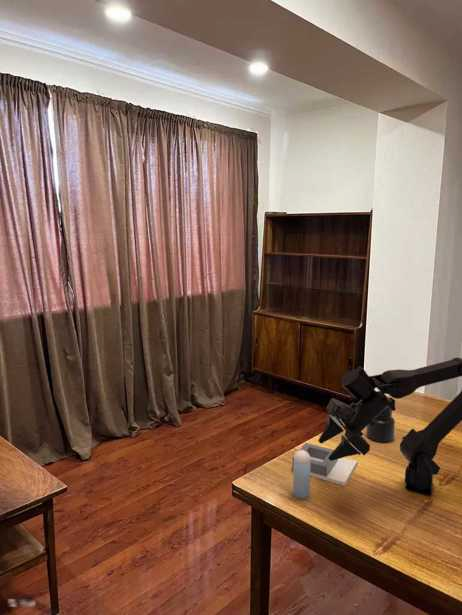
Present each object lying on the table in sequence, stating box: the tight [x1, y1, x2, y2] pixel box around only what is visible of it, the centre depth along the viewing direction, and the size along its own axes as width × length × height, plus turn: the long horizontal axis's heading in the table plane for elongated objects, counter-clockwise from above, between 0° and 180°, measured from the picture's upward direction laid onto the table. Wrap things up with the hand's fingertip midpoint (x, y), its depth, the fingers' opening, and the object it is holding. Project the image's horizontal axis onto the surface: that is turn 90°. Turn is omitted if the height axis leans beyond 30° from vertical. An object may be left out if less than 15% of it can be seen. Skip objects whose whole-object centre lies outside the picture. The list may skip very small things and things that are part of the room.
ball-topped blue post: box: [292, 449, 311, 500], centre depth 118 cm, size 4×4×12 cm
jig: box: [292, 442, 358, 487], centre depth 131 cm, size 16×13×4 cm
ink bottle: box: [365, 407, 396, 443], centre depth 149 cm, size 10×9×12 cm
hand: (324, 450), depth 117 cm, fingers open, 9 cm apart
